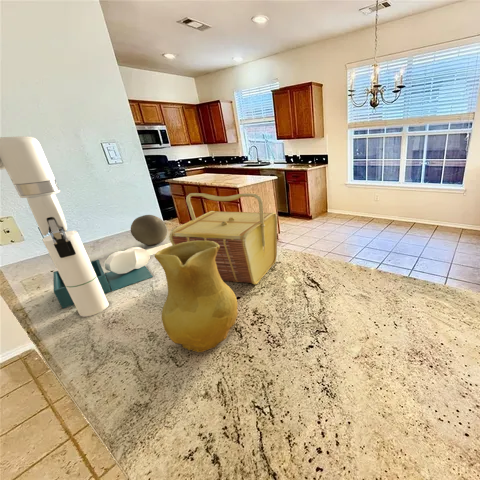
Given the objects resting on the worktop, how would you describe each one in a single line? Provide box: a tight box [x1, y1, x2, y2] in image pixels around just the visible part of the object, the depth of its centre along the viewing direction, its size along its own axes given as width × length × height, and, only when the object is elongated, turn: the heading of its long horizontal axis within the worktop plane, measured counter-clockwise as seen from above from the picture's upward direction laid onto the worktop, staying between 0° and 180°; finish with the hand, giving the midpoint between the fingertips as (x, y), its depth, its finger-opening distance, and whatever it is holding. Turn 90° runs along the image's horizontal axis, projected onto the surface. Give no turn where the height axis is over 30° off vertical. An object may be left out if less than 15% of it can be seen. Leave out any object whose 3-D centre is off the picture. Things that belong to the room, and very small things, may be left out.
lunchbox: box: [52, 259, 154, 309], centre depth 95 cm, size 25×18×7 cm
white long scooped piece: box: [103, 242, 172, 274], centre depth 112 cm, size 38×8×4 cm
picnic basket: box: [168, 192, 278, 286], centre depth 94 cm, size 29×26×30 cm
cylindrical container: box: [42, 230, 110, 317], centre depth 77 cm, size 7×7×25 cm
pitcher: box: [153, 240, 239, 353], centre depth 65 cm, size 17×19×25 cm
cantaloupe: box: [130, 214, 168, 246], centre depth 126 cm, size 14×14×15 cm
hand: (67, 251), depth 74 cm, fingers closed on cylindrical container, 7 cm apart
